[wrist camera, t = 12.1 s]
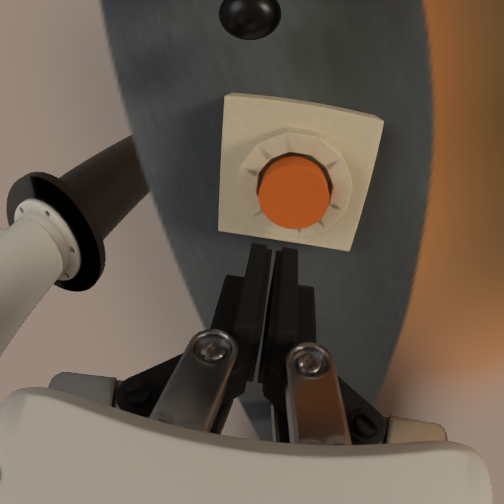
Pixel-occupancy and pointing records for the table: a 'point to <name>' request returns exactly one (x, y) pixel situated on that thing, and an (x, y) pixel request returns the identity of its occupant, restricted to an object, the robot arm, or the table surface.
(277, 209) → the button
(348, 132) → the beige button base
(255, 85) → the table surface
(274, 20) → the switch
